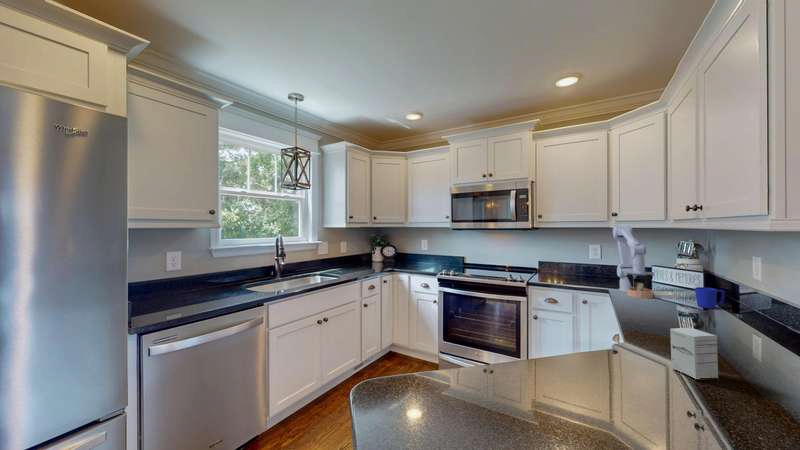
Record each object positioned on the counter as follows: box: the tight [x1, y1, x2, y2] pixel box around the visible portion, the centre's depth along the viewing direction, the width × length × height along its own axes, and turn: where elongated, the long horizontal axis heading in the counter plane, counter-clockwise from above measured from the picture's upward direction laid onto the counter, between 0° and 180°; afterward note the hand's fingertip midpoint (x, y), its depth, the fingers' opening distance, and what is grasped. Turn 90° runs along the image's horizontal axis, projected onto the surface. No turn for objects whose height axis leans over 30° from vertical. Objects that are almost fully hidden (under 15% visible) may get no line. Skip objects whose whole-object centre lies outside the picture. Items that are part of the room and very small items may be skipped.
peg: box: [634, 282, 645, 291], centre depth 188 cm, size 4×4×8 cm
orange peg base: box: [626, 287, 654, 299], centre depth 188 cm, size 13×13×5 cm
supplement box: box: [669, 327, 719, 379], centre depth 89 cm, size 7×7×13 cm
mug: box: [694, 286, 725, 310], centre depth 160 cm, size 8×12×10 cm
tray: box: [653, 290, 681, 300], centre depth 187 cm, size 12×12×2 cm
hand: (639, 287), depth 188 cm, fingers open, 7 cm apart
